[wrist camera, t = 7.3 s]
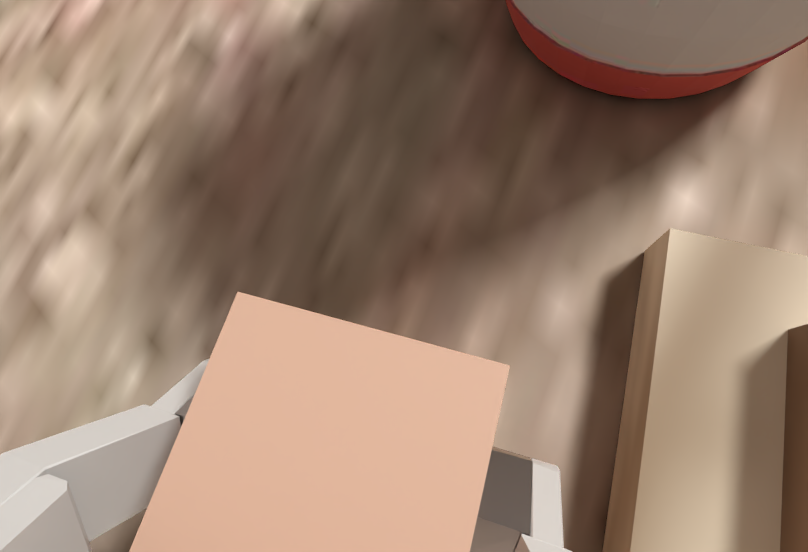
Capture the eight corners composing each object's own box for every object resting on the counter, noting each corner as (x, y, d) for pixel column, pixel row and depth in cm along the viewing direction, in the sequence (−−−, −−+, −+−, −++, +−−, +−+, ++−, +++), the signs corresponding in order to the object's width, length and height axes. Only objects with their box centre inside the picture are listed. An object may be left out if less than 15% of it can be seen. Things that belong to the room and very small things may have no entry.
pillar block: (477, 399, 15) (510, 365, 6) (443, 544, 14) (428, 741, 5) (353, 363, 16) (237, 291, 7) (311, 496, 14) (109, 598, 6)
